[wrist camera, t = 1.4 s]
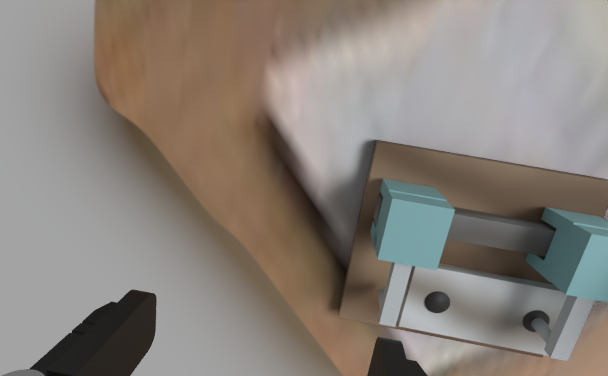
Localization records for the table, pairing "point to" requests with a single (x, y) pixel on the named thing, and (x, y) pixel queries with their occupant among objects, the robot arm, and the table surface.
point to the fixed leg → (572, 275)
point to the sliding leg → (408, 238)
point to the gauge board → (471, 247)
